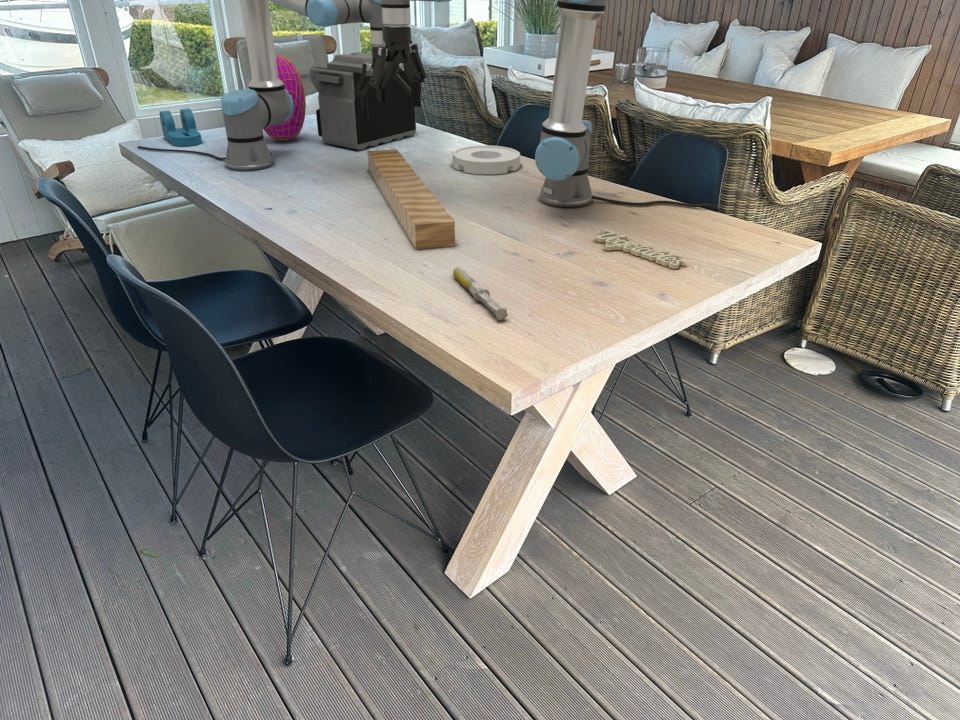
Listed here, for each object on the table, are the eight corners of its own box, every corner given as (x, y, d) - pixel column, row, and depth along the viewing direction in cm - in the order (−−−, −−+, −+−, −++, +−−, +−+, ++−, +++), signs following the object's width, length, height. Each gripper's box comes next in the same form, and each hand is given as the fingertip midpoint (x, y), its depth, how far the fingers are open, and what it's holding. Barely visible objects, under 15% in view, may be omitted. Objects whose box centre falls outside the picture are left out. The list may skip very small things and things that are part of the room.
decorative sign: (581, 237, 173) (606, 228, 179) (581, 241, 174) (606, 232, 179) (668, 269, 156) (693, 258, 162) (668, 273, 157) (693, 262, 162)
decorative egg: (293, 132, 276) (283, 50, 261) (319, 140, 264) (310, 56, 249) (249, 139, 265) (236, 54, 250) (273, 148, 253) (261, 60, 238)
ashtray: (454, 156, 246) (454, 144, 244) (519, 157, 245) (519, 146, 243) (450, 173, 226) (450, 161, 224) (520, 175, 225) (521, 162, 223)
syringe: (449, 274, 155) (449, 263, 153) (465, 272, 156) (464, 260, 154) (490, 323, 135) (491, 310, 133) (508, 319, 136) (508, 307, 134)
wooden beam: (455, 245, 170) (454, 221, 167) (416, 249, 168) (415, 224, 165) (397, 168, 232) (396, 149, 228) (368, 170, 229) (367, 151, 226)
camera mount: (164, 137, 265) (157, 109, 260) (192, 134, 270) (186, 106, 265) (176, 147, 253) (170, 117, 247) (205, 143, 258) (200, 114, 252)
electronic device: (379, 127, 286) (374, 48, 270) (420, 134, 275) (417, 53, 259) (313, 143, 260) (303, 57, 245) (355, 152, 249) (347, 63, 234)
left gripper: (425, 43, 211) (427, 115, 222) (343, 44, 210) (350, 116, 220) (425, 46, 205) (428, 120, 216) (341, 47, 203) (348, 121, 214)
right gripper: (416, 22, 191) (419, 102, 202) (351, 27, 174) (358, 115, 185) (437, 23, 187) (439, 105, 198) (373, 29, 170) (378, 118, 181)
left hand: (388, 118), depth 218 cm, fingers open, 13 cm apart
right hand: (400, 110), depth 191 cm, fingers open, 13 cm apart
